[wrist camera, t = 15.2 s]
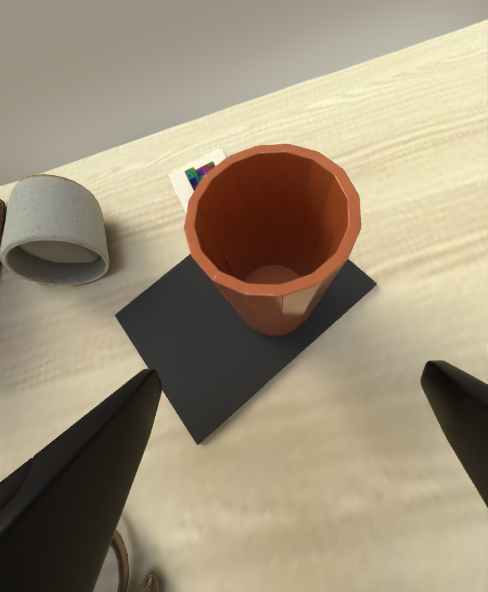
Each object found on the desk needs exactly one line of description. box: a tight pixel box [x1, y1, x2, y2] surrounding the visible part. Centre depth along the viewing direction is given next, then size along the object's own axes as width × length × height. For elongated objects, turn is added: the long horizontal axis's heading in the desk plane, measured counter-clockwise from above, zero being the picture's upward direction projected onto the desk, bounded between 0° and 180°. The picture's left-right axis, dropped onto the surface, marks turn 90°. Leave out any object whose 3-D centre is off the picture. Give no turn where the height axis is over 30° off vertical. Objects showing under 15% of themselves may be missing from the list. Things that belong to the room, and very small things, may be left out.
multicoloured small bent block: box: [168, 147, 227, 213], centre depth 25 cm, size 7×8×2 cm
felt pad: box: [115, 254, 377, 445], centre depth 21 cm, size 14×20×1 cm
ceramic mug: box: [0, 174, 109, 286], centre depth 22 cm, size 11×8×8 cm
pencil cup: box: [184, 144, 361, 336], centre depth 15 cm, size 7×7×12 cm
